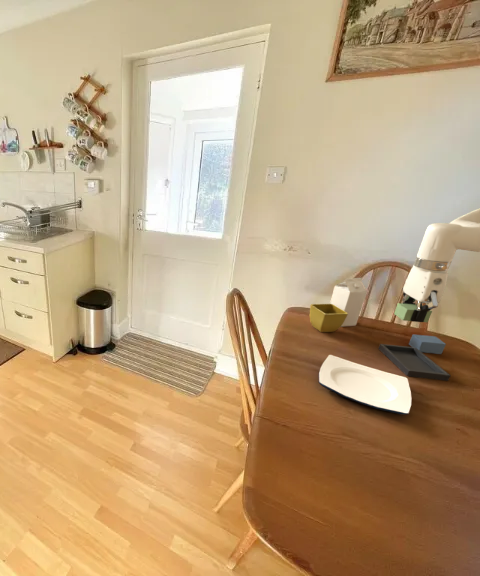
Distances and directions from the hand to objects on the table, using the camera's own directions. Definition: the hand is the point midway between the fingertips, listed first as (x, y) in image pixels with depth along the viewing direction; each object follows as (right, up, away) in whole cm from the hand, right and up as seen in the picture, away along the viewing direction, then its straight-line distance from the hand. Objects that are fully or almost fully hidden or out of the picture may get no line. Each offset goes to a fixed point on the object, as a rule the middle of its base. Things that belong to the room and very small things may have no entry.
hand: (410, 316), depth 102 cm
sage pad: (0, 0, 0) cm, 0 cm away
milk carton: (-4, -5, +25) cm, 26 cm away
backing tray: (-2, -15, -1) cm, 15 cm away
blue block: (+11, -12, +6) cm, 17 cm away
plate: (-26, -20, -12) cm, 35 cm away
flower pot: (-14, -7, +20) cm, 26 cm away
